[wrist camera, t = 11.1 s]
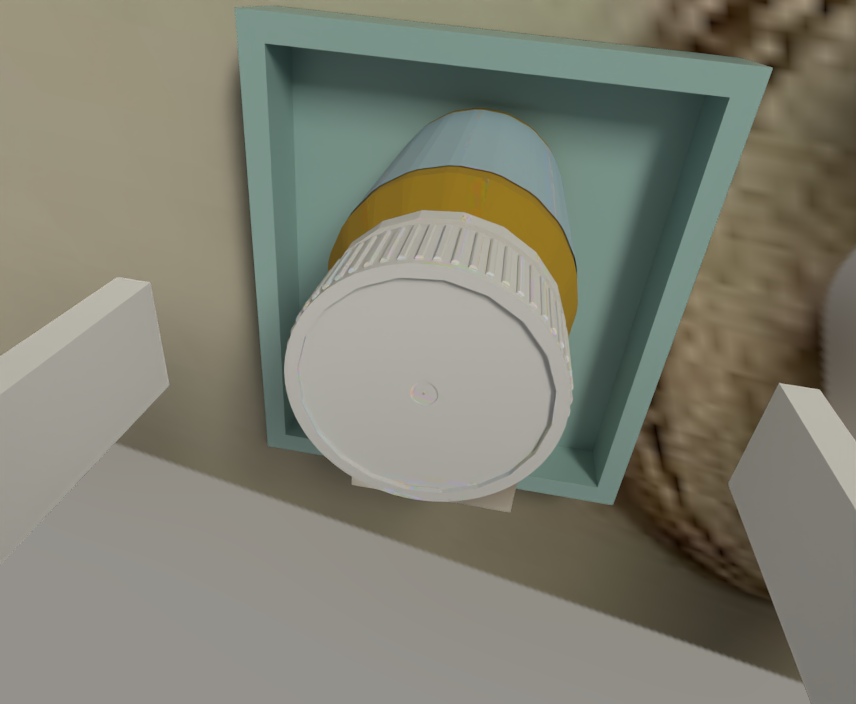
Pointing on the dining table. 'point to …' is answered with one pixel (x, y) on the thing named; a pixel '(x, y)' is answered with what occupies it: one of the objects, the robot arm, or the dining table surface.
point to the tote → (575, 157)
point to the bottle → (444, 317)
